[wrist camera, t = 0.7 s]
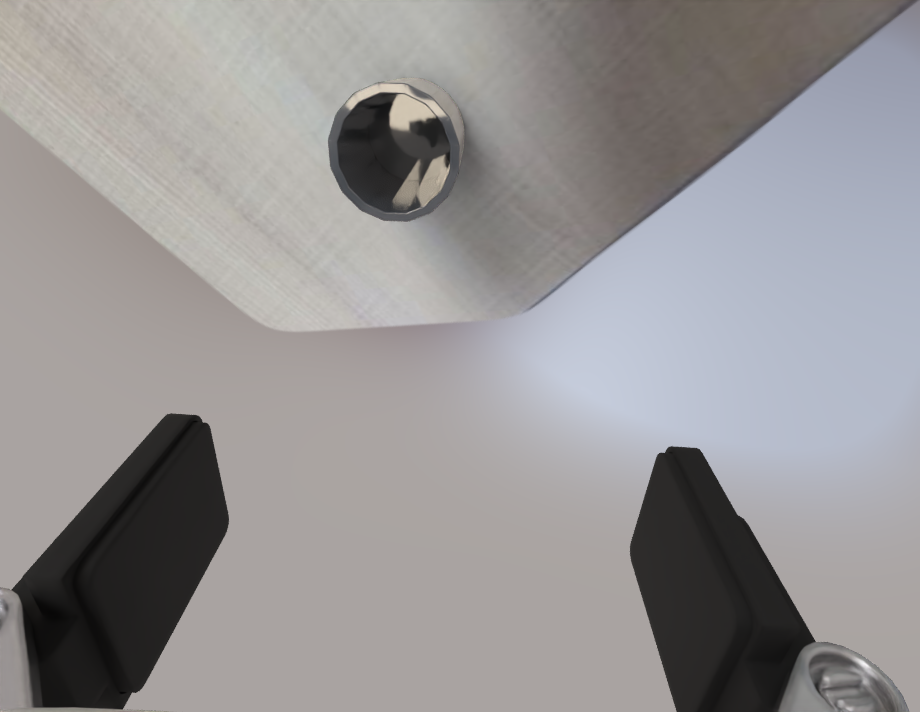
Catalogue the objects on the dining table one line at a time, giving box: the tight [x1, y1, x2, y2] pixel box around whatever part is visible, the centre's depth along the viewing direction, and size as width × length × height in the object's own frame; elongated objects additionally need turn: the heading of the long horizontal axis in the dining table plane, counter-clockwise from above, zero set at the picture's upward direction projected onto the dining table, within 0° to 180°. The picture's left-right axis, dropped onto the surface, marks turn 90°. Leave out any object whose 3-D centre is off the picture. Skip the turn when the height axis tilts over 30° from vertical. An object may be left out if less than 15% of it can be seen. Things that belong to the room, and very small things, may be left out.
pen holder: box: [328, 78, 464, 222], centre depth 33 cm, size 7×7×10 cm
